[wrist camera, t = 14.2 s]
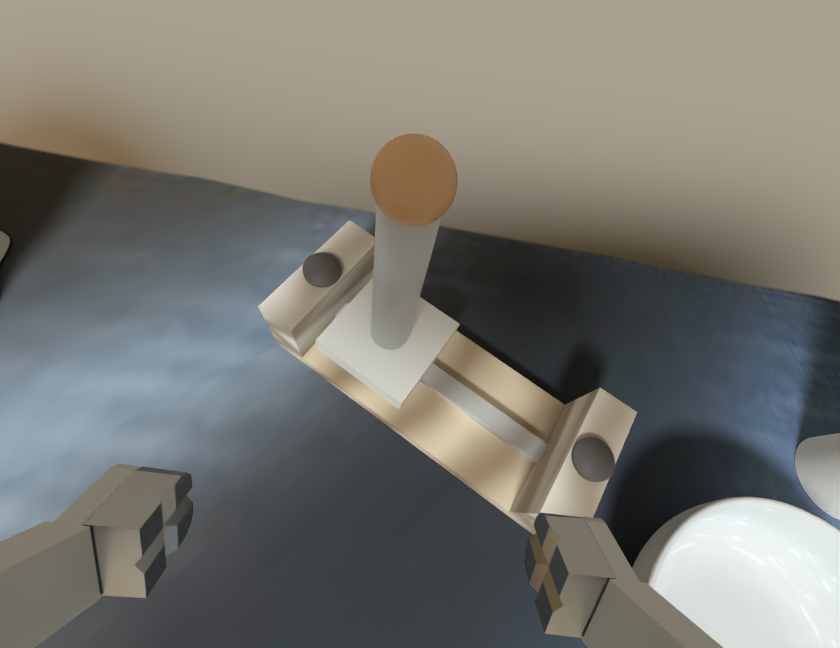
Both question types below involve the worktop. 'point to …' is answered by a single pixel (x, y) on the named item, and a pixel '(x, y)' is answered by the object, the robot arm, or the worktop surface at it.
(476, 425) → the rail
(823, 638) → the serving bowl
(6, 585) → the robot arm
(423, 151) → the carriage
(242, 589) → the worktop surface
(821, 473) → the cylindrical container
